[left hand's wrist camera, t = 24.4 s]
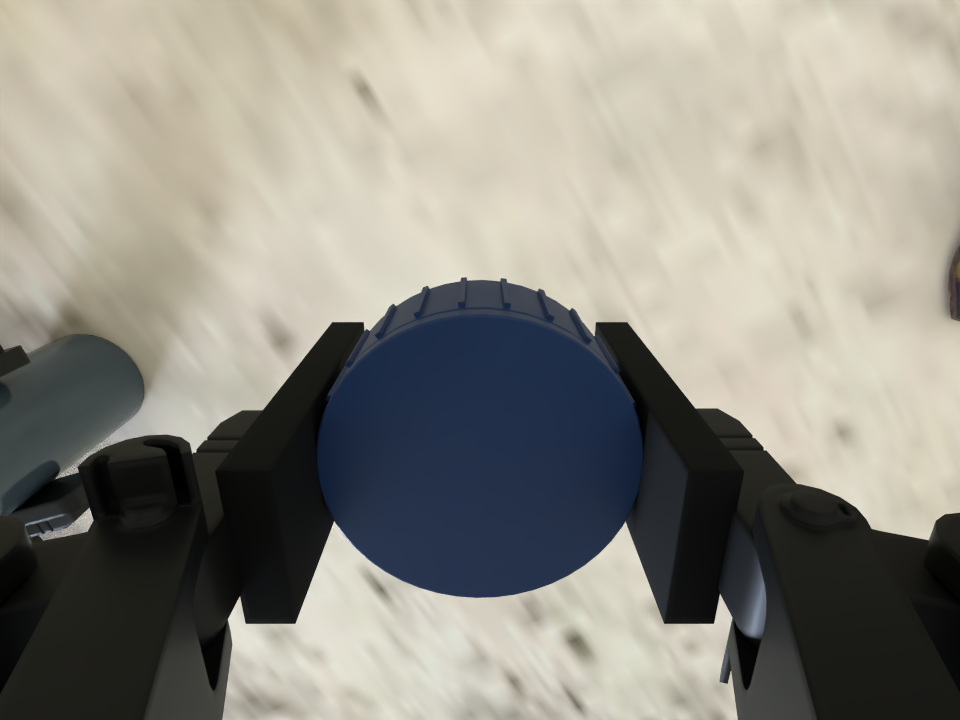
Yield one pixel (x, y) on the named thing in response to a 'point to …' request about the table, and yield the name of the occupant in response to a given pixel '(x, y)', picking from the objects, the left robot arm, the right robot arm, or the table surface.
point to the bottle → (61, 411)
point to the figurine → (955, 287)
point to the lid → (479, 442)
